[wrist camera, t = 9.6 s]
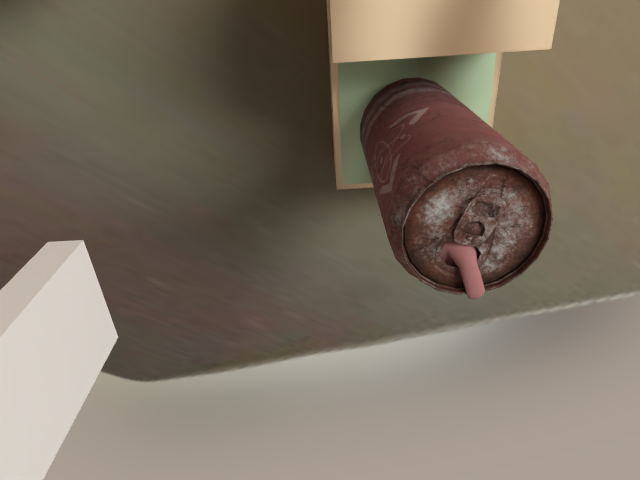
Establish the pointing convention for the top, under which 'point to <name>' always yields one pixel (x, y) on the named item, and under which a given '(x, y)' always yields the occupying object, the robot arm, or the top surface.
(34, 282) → the robot arm
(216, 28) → the top surface
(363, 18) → the stand
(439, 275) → the can
